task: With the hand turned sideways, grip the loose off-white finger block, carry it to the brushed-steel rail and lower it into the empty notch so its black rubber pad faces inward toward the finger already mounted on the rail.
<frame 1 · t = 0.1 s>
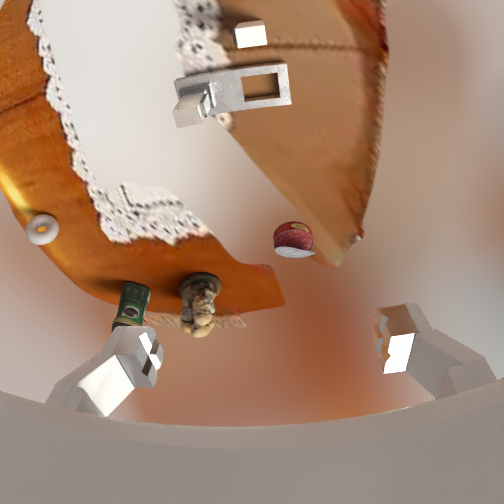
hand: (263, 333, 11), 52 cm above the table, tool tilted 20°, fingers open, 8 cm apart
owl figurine: (200, 286, 95), on the table
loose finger: (251, 28, 43), on the table
coffee jar: (137, 288, 97), on the table
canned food: (292, 235, 80), on the table
donut: (49, 216, 74), on the table
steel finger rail: (228, 88, 52), on the table
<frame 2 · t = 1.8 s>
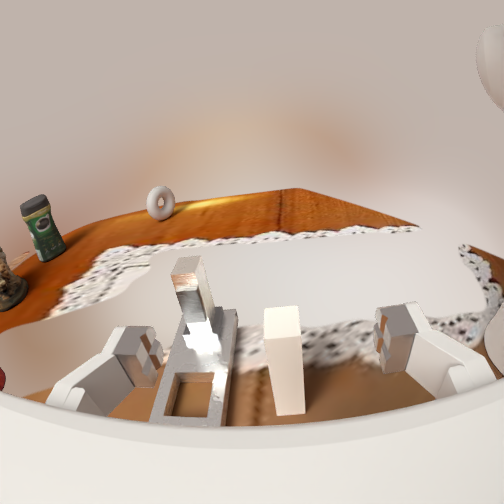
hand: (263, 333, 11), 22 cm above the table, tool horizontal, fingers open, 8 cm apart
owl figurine: (11, 296, 62), on the table
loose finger: (290, 400, 32), on the table
coffee jar: (53, 255, 81), on the table
donut: (165, 219, 90), on the table
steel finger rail: (202, 366, 38), on the table
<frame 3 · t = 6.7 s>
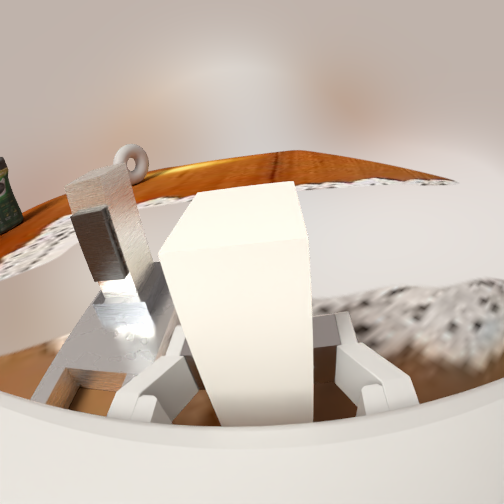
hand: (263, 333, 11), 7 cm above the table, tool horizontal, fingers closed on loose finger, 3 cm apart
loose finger: (279, 443, 13), on the table, touching gripper
coffee jar: (9, 228, 62), on the table
donut: (136, 184, 71), on the table
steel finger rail: (120, 361, 20), on the table
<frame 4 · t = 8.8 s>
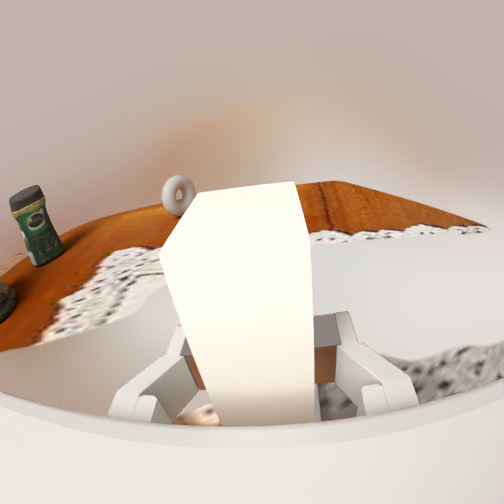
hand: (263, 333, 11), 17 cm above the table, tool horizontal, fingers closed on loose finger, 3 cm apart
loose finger: (279, 444, 13), point 10 cm above the table, touching gripper
coffee jar: (48, 258, 67), on the table
donut: (183, 215, 75), on the table
when the fingers open (8 cm above the table, at t = 10.9 s): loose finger drops 1 cm, resting in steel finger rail.
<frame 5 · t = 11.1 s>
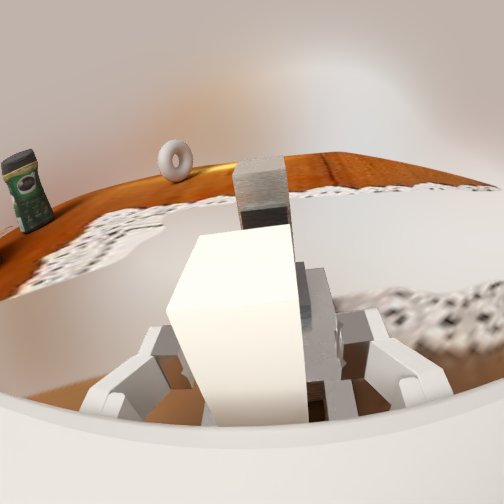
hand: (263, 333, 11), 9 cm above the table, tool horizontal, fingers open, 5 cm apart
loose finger: (282, 454, 14), resting in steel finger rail
coffee jar: (38, 226, 62), on the table
donut: (180, 182, 71), on the table
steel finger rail: (280, 370, 20), on the table
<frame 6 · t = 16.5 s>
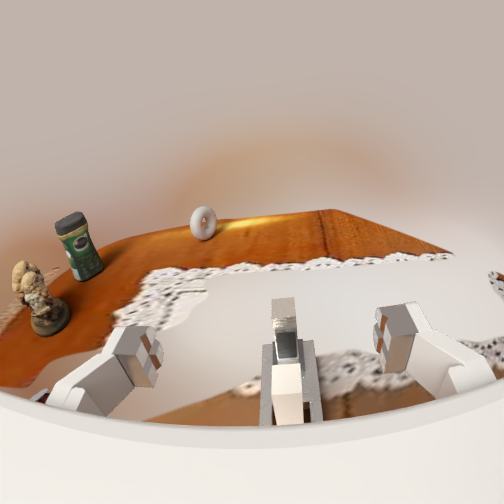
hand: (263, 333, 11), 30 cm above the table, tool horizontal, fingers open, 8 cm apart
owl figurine: (52, 319, 65), on the table
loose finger: (292, 432, 36), resting in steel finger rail
coffee jar: (89, 274, 84), on the table
donut: (207, 239, 93), on the table
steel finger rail: (290, 395, 41), on the table
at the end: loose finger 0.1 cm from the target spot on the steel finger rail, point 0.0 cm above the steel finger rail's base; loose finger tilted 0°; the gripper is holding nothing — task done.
